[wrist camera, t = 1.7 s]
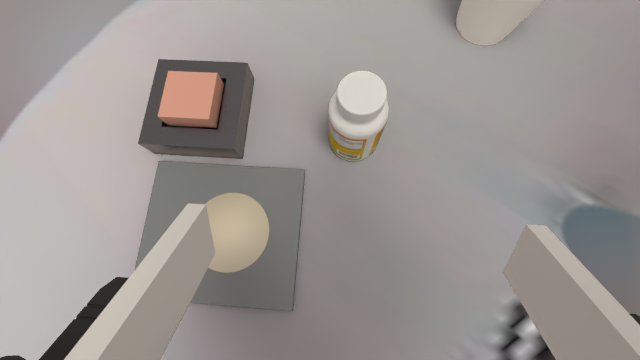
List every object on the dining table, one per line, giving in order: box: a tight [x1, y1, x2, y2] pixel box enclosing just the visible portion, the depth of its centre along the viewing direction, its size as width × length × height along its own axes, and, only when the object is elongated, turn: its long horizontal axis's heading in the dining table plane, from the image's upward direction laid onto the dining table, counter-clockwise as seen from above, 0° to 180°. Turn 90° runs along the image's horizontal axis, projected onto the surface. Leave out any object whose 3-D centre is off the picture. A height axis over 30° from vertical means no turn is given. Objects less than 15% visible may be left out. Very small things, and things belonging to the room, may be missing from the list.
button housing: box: [138, 59, 254, 159], centre depth 33 cm, size 10×10×3 cm
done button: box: [158, 71, 224, 128], centre depth 31 cm, size 5×5×2 cm
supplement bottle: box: [328, 71, 389, 161], centre depth 28 cm, size 5×5×10 cm
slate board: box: [135, 161, 305, 311], centre depth 30 cm, size 16×14×1 cm
